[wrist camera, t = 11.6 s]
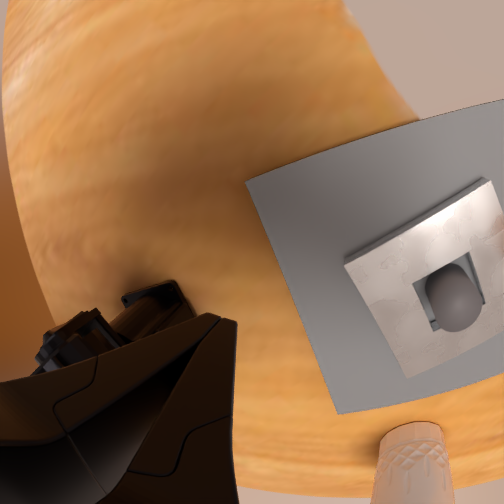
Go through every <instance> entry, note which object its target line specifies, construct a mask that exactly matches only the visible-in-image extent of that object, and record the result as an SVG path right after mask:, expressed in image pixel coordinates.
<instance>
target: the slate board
mask: <svg viewBox="0 0 504 504" xmlns="http://www.w3.org/2000/svg"><path fill="white" fill-rule="evenodd" d="M482 178H486V179H489V180H491V182H492V185H493V187H494V190H495V193H496V195H497V198H498V201H499V203H500V206H501V209H502V212H503V215H504V99H502V100H498V101H493V102H489V103H484V104H480V105H476V106H472V107H468V108H464V109H460V110H456V111H452V112H448V113H445V114H441V115H437V116H433V117H430V118H426V119H423V120H419V121H416V122H412V123H409V124H406V125H402V126H399V127H396V128H392V129H389V130H386V131H383V132H379V133H376V134H373V135H370V136H367V137H364V138H361V139H358V140H355V141H352V142H349V143H346V144H343V145H340V146H337V147H334V148H331V149H328V150H326V151H323V152H320V153H317V154H314V155H312V156H309V157H306V158H303V159H301V160H298V161H295V162H293V163H290V164H287V165H285V166H282V167H279V168H277V169H274V170H272V171H269V172H267V173H264V174H261V175H259V176H256V177H254V178H251V179H249V180H247V181H245V184H246V186H247V188H248V191H249V193H250V196H251V198H252V200H253V203H254V205H255V208H256V210H257V212H258V215H259V217H260V220H261V222H262V224H263V227H264V229H265V232H266V234H267V236H268V239H269V241H270V244H271V246H272V249H273V251H274V253H275V256H276V258H277V261H278V263H279V266H280V268H281V271H282V273H283V276H284V278H285V281H286V283H287V286H288V288H289V290H290V293H291V295H292V298H293V300H294V303H295V305H296V308H297V311H298V313H299V316H300V318H301V321H302V323H303V326H304V328H305V331H306V333H307V336H308V338H309V341H310V343H311V346H312V349H313V351H314V354H315V356H316V359H317V361H318V364H319V367H320V369H321V372H322V374H323V377H324V380H325V382H326V385H327V387H328V390H329V393H330V395H331V398H332V401H333V403H334V406H335V409H336V411H337V414H338V415H339V414H346V413H352V412H359V411H365V410H371V409H376V408H381V407H386V406H391V405H396V404H401V403H405V402H410V401H414V400H418V399H422V398H426V397H430V396H433V395H437V394H441V393H444V392H448V391H451V390H454V389H458V388H461V387H464V386H467V385H470V384H473V383H476V382H479V381H482V380H485V379H488V378H490V377H493V376H496V375H498V374H501V373H503V372H504V330H503V331H502V332H500V333H498V334H497V335H495V336H493V337H491V338H490V339H488V340H486V341H484V342H483V343H481V344H479V345H477V346H475V347H473V348H472V349H470V350H468V351H466V352H464V353H462V354H460V355H458V356H456V357H454V358H452V359H450V360H448V361H446V362H444V363H442V364H440V365H437V366H435V367H433V368H431V369H429V370H426V371H424V372H422V373H420V374H417V375H415V376H413V377H410V378H408V379H407V378H406V376H405V374H404V372H403V370H402V369H401V367H400V365H399V363H398V361H397V359H396V357H395V355H394V353H393V351H392V349H391V348H390V346H389V344H388V342H387V340H386V338H385V336H384V335H383V333H382V331H381V329H380V327H379V326H378V324H377V322H376V320H375V318H374V317H373V315H372V313H371V311H370V310H369V308H368V306H367V304H366V303H365V301H364V299H363V297H362V296H361V294H360V292H359V291H358V289H357V287H356V285H355V284H354V282H353V280H352V279H351V277H350V275H349V274H348V272H347V270H346V269H345V267H344V259H345V258H347V257H349V256H350V255H352V254H354V253H356V252H358V251H360V250H361V249H363V248H365V247H367V246H369V245H370V244H372V243H374V242H376V241H378V240H379V239H381V238H383V237H385V236H387V235H388V234H390V233H392V232H394V231H395V230H397V229H399V228H401V227H402V226H404V225H406V224H408V223H409V222H411V221H413V220H414V219H416V218H418V217H420V216H421V215H423V214H425V213H426V212H428V211H430V210H431V209H433V208H435V207H437V206H438V205H440V204H442V203H443V202H445V201H447V200H448V199H450V198H451V197H453V196H455V195H456V194H458V193H460V192H461V191H463V190H464V189H466V188H468V187H469V186H471V185H473V184H474V183H476V182H477V181H479V180H480V179H482ZM413 285H414V287H415V290H416V292H417V294H418V296H419V298H420V300H421V303H422V305H423V307H424V309H425V312H426V314H427V316H428V319H429V321H430V323H433V322H434V321H437V324H438V325H439V326H440V328H442V329H443V330H445V331H448V332H459V331H462V330H464V329H466V328H468V327H469V326H471V325H472V324H473V323H474V322H475V321H476V320H477V318H478V316H479V315H480V312H481V309H482V297H481V294H480V291H479V288H478V285H477V281H476V278H475V275H474V272H473V269H472V267H471V264H470V261H469V258H468V255H467V253H465V254H464V255H462V256H460V257H459V258H457V259H455V260H453V261H452V262H450V263H448V264H446V265H445V266H443V267H441V268H439V269H438V270H436V271H434V272H432V273H430V274H429V275H427V276H425V277H423V278H421V279H419V280H418V281H416V282H414V283H413Z"/></svg>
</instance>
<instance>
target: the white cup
mask: <svg viewBox="0 0 504 504" xmlns="http://www.w3.org/2000/svg"><path fill="white" fill-rule="evenodd" d="M370 504H455V500H454V489H453V481H452V474H451V467H450V463H449V457H448V452H447V449H446V446H445V440H444V434H443V431H442V430H441V428H440V427H439V425H436V424H433V423H430V422H413V423H409V424H405V425H402V426H399V427H397V428H395V429H393V430H392V431H390V432H388V433H387V434H386V435H385V436H384V437H383V439H382V440H381V441H380V449H379V458H378V463H377V466H376V472H375V477H374V484H373V490H372V497H371V503H370Z"/></svg>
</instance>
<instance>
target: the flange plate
mask: <svg viewBox="0 0 504 504" xmlns="http://www.w3.org/2000/svg"><path fill="white" fill-rule="evenodd" d="M465 253H467V255H468V258H469V261H470V264H471V267H472V269H473V272H474V275H475V278H476V281H477V285H478V288H479V291H480V294H481V297H482V309H481V312H480V315H479V316H478V318H477V320H476V321H475V322H474V323H473V324H472V325H471V326H469V327H468V328H466V329H464V330H462V331H459V332H448V331H445V330H443V329H442V328H440V326H439V325H438V324H437V321H434V322H433V323H430V321H429V319H428V316H427V314H426V312H425V309H424V307H423V305H422V303H421V300H420V298H419V296H418V294H417V292H416V290H415V287H414V285H413V283H414V282H416V281H418V280H419V279H421V278H423V277H425V276H427V275H429V274H430V273H432V272H434V271H436V270H438V269H439V268H441V267H443V266H445V265H446V264H448V263H450V262H452V261H453V260H455V259H457V258H459V257H460V256H462V255H464V254H465ZM344 267H345V269H346V270H347V272H348V274H349V275H350V277H351V279H352V280H353V282H354V284H355V285H356V287H357V289H358V291H359V292H360V294H361V296H362V297H363V299H364V301H365V303H366V304H367V306H368V308H369V310H370V311H371V313H372V315H373V317H374V318H375V320H376V322H377V324H378V326H379V327H380V329H381V331H382V333H383V335H384V336H385V338H386V340H387V342H388V344H389V346H390V348H391V349H392V351H393V353H394V355H395V357H396V359H397V361H398V363H399V365H400V367H401V369H402V370H403V372H404V374H405V376H406V378H407V379H408V378H410V377H413V376H415V375H417V374H420V373H422V372H424V371H426V370H429V369H431V368H433V367H435V366H437V365H440V364H442V363H444V362H446V361H448V360H450V359H452V358H454V357H456V356H458V355H460V354H462V353H464V352H466V351H468V350H470V349H472V348H473V347H475V346H477V345H479V344H481V343H483V342H484V341H486V340H488V339H490V338H491V337H493V336H495V335H497V334H498V333H500V332H502V331H503V330H504V215H503V212H502V209H501V206H500V203H499V201H498V198H497V195H496V193H495V190H494V187H493V185H492V182H491V180H489V179H486V178H482V179H480V180H479V181H477V182H476V183H474V184H473V185H471V186H469V187H468V188H466V189H464V190H463V191H461V192H460V193H458V194H456V195H455V196H453V197H451V198H450V199H448V200H447V201H445V202H443V203H442V204H440V205H438V206H437V207H435V208H433V209H431V210H430V211H428V212H426V213H425V214H423V215H421V216H420V217H418V218H416V219H414V220H413V221H411V222H409V223H408V224H406V225H404V226H402V227H401V228H399V229H397V230H395V231H394V232H392V233H390V234H388V235H387V236H385V237H383V238H381V239H379V240H378V241H376V242H374V243H372V244H370V245H369V246H367V247H365V248H363V249H361V250H360V251H358V252H356V253H354V254H352V255H350V256H349V257H347V258H345V259H344Z"/></svg>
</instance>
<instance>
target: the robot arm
mask: <svg viewBox="0 0 504 504" xmlns="http://www.w3.org/2000/svg"><path fill="white" fill-rule="evenodd" d="M170 286H171V287H172V288H173V289H172V288H171V287H170ZM121 300H122V302H123V304H124V306H125V308H126V309H125V310H124V311H123V312H122V313H121V314H120V315H118V316H117V317H116V318H115V319H114V320H113V321H112V322H110V323H109V324H108V322H107V321H106V320H105V319H104V318H103V317H102V315H101V312H100V311H99V310H98V309H97V308H94V309H93V310H91V311H90V312H88V311H86V312H83V311H81V312H80V313H79V314H77V315H76V316H75V317H73V318H72V319H71V320H69V321H68V322H66V323H64V324H62V325H60V326H57V327H55V328H53V329H51V330H49V331H47V332H46V333H45V334H44V335H43V345H42V347H41V348H40V351H39V352H38V354H37V355H36V357H35V360H36V362H37V363H38V364H39V367H38V368H37V369H36V370H35V371H34V372H33V373H32V374H31V375H30V376H28V377H24V378H19V379H15V380H10V381H6V382H0V504H239V498H238V492H237V485H236V478H235V472H234V462H233V451H232V428H233V418H232V417H233V403H234V382H235V362H236V343H237V322H236V321H234V320H230V319H227V318H221V316H218V315H215V314H212V313H204V314H202V315H199V316H197V317H195V318H194V316H193V314H192V312H191V310H190V309H189V307H188V305H187V303H186V301H185V299H184V297H183V295H182V293H181V291H180V289H179V287H178V285H177V284H176V283H175V282H174V281H167V282H164V283H160V284H157V285H154V286H150V287H147V288H144V289H140V290H137V291H134V292H130V293H127V294H125V295H123V296H122V298H121Z"/></svg>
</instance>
